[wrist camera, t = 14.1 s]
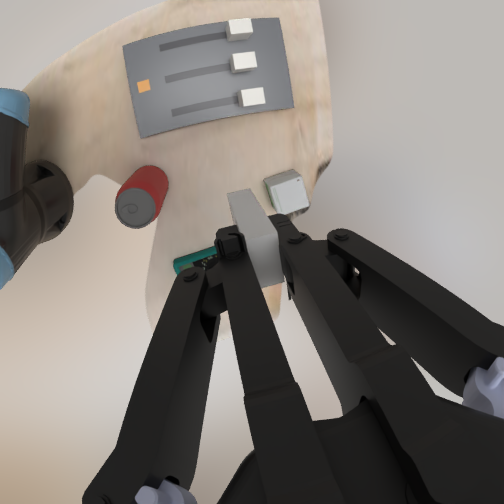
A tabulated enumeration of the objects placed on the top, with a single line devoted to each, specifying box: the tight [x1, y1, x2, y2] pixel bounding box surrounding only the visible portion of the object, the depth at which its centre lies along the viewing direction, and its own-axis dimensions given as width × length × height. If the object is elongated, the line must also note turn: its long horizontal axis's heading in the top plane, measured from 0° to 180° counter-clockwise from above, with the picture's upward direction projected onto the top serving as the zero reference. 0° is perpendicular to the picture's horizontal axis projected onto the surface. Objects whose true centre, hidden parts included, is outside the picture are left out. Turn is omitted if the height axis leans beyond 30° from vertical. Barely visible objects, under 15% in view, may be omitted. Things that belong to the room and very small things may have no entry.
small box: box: [264, 169, 309, 215], centre depth 45 cm, size 6×6×5 cm
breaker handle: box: [229, 51, 257, 73], centre depth 31 cm, size 3×2×4 cm
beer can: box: [115, 166, 168, 229], centre depth 37 cm, size 7×7×12 cm
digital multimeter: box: [173, 246, 219, 275], centre depth 51 cm, size 7×15×3 cm, turn 106°
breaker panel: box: [123, 18, 294, 138], centre depth 32 cm, size 24×16×7 cm, turn 99°
